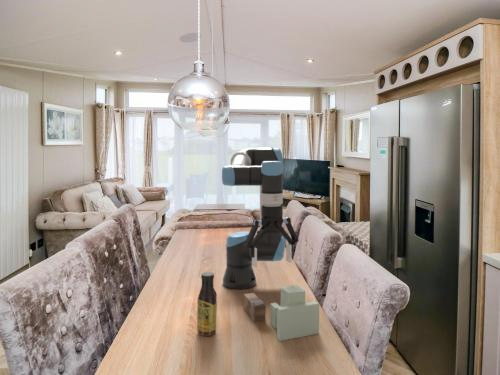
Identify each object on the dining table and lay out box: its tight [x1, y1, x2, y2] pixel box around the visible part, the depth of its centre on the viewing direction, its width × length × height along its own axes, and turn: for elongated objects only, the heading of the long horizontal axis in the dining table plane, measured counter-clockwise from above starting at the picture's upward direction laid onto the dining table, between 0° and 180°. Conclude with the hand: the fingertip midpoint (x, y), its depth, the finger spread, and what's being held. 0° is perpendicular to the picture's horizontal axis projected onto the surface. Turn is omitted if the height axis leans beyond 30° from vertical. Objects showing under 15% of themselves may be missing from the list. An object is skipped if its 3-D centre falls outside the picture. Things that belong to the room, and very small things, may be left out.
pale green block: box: [269, 284, 320, 342], centre depth 118 cm, size 12×14×14 cm
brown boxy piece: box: [243, 292, 266, 324], centre depth 128 cm, size 12×4×6 cm, turn 19°
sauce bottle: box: [196, 271, 218, 337], centre depth 115 cm, size 7×6×20 cm
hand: (271, 263), depth 126 cm, fingers open, 13 cm apart
